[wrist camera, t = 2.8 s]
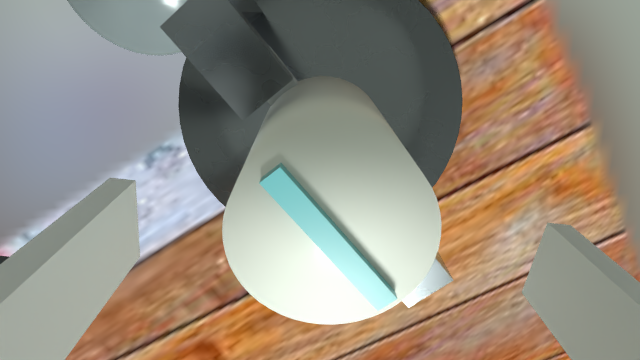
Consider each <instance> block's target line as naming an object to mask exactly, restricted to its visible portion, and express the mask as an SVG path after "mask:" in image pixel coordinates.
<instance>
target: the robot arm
mask: <svg viewBox="0 0 640 360" xmlns="http://www.w3.org/2000/svg"><path fill="white" fill-rule="evenodd" d="M139 257H140V249H139V232H138V215H137V198H136V182H135V180H126V179H116V178H109V179H108V180H107V181H105V182H104V183H103V184H102V185H100V186H99V187H98V188H97V189H95V190H94V191H93V192H91V193H90V194H89V195H88V196H86V197H85V198H84V199H83V200H81V201H80V202H79V203H78V204H76V205H75V206H74V207H72V208H71V209H70V210H69V211H67V212H66V213H65V214H64V215H62V216H61V217H60V218H58V219H57V220H56V221H55V222H53V223H52V224H51V225H50V226H48V227H47V228H46V229H44V230H43V231H42V232H41V233H39V234H38V235H37V236H36V237H34V238H33V239H32V240H31V241H29V242H28V243H27V244H25V245H24V246H23V247H22V248H20V249H19V250H18V251H17V252H15V253H14V254H13V255H11V256H10V257H7V256H0V360H65V359H66V357H67V356H68V354H69V353H70V352H71V350H72V349H73V348H74V346H75V345H76V343H77V342H78V341H79V339H80V338H81V337H82V335H83V334H84V333H85V331H86V330H87V328H88V327H89V326H90V324H91V323H92V322H93V320H94V319H95V318H96V316H97V315H98V313H99V312H100V311H101V309H102V308H103V307H104V305H105V304H106V302H107V301H108V300H109V298H110V297H111V296H112V294H113V293H114V292H115V290H116V289H117V287H118V286H119V285H120V283H121V282H122V281H123V279H124V278H125V276H126V275H127V274H128V272H129V271H130V270H131V268H132V267H133V266H134V264H135V263H136V261H137V260H138V259H139ZM522 293H523V295H524V296H525V297H526V299H527V300H528V301H529V303H530V304H531V306H532V307H533V308H534V310H535V311H536V312H537V314H538V315H539V316H540V318H541V319H542V320H543V322H544V323H545V324H546V326H547V327H548V329H549V330H550V331H551V333H552V334H553V335H554V337H555V338H556V339H557V341H558V342H559V343H560V345H561V346H562V347H563V349H564V350H565V351H566V353H567V354H568V356H569V357H570V358H571V360H640V283H639V282H638V281H637V280H636V279H635V278H633V277H632V276H631V275H630V274H629V273H627V272H626V271H625V270H624V269H623V268H621V267H620V266H619V265H618V264H617V263H615V262H614V261H613V260H612V259H611V258H609V257H608V256H607V255H606V254H604V253H603V252H602V251H601V250H600V249H598V248H597V247H596V246H595V245H594V244H592V243H591V242H590V241H589V240H588V239H586V238H585V237H584V236H583V235H582V234H580V233H579V232H578V231H577V230H575V229H574V228H573V227H572V226H571V225H564V224H554V223H547V226H546V228H545V231H544V234H543V236H542V239H541V242H540V244H539V247H538V250H537V253H536V255H535V258H534V261H533V263H532V266H531V269H530V271H529V274H528V277H527V280H526V282H525V285H524V288H523V290H522Z"/></svg>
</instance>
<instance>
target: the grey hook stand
mask: <svg viewBox="0 0 640 360" xmlns="http://www.w3.org/2000/svg"><path fill="white" fill-rule="evenodd" d="M160 28H161V29H162V30H163V31H164V32H165V33H166V35H167V36H168V37H169V38H170V39H171V40H172V41H173V42H174V44H175V45H176V46H177V47H178V48H179V49H180V50H181V51H182V53H183V54H184V55H185V56H186V57H187V58H186V61H185V64H184V66H183V71H182V76H181V82H180V88H179V116H180V125H181V130H182V134H183V139H184V143H185V145H186V148H187V151H188V154H189V156H190V159H191V161H192V163H193V165H194V167H195V169H196V171H197V173H198V174H199V176H200V177H201V179H202V180H203V182H204V183H205V185H206V186H207V188H208V189H209V190H210V191H211V192H212V193H213V194H214V196H215V197H216V198H217V199H218V200H219V201H220V202H221V203H222V204H223V205H224V206H225V207H226V205H227V202H228V199H229V197H230V195H231V192H232V190H233V188H234V186H235V183H236V181H237V179H238V177H239V174H240V172H241V170H242V168H243V166H244V163H245V161H246V159H247V157H248V154H249V152H250V150H251V148H252V145H253V143H254V141H255V139H256V137H257V134H258V132H259V130H260V128H261V125H262V123H263V121H264V119H265V116H266V114H267V112H268V110H269V108H270V106H271V105H270V104H269V103H268V102H267V101H268V100H269V99H270V98H271V97H272V96H274V95H275V94H276V93H277V92H278V91H280V90H281V89H282V88H283V87H284V86H286V85H287V84H288V83H289V82H291V81H292V79H293V76H294V77H295V78H296V80H297V81H300V80H303V79H306V78H310V77H317V76H331V77H336V78H340V79H343V80H346V81H348V82H350V83H352V84H354V85H356V86H357V87H359V88H360V89H361V90H363V91H364V92H365V93H366V94H367V95H368V96H369V98H370V99H371V100H372V101H373V103H374V104H375V106H376V107H377V108H378V110H379V111H380V113H381V114H382V116H383V117H384V118H385V120H386V121H387V123H388V124H389V126H390V127H391V128H392V130H393V131H394V133H395V134H396V136H397V137H398V138H399V140H400V141H401V143H402V144H403V146H404V147H405V148H406V150H407V151H408V153H409V154H410V156H411V157H412V158H413V160H414V161H415V163H416V164H417V166H418V167H419V168H420V170H421V171H422V173H423V174H424V176H425V177H426V179H427V180H428V182H429V184H430V185H431V187H433V186H434V185H435V184H436V182H437V181H438V179H439V177H440V176H441V174H442V173H443V171H444V169H445V168H446V166H447V163H448V161H449V159H450V157H451V155H452V153H453V150H454V147H455V143H456V140H457V137H458V133H459V128H460V122H461V115H462V89H461V80H460V75H459V70H458V66H457V62H456V59H455V56H454V54H453V51H452V48H451V45H450V43H449V41H448V40H447V38H446V36H445V34H444V32H443V30H442V28H441V27H440V25H439V24H438V23H437V21H436V20H435V19H434V17H433V16H432V14H431V13H430V12H429V11H428V10H427V9H426V8H425V7H424V6H423V5H422V4H421V2H420V1H419V0H187V1H186V2H185V3H184V4H183V5H182V6H181V7H180V8H179V9H178V10H177V11H176V12H175V13H174V14H173V15H171V16H170V17H169V18H168V19H167V20H166V21H165V22H164V23H163V24H162V25H161V26H160ZM269 46H270V47H271V48H272V50H273V51H274V52H275V53H276V55H277V56H278V57H279V58H280V60H281V61H282V62H283V63H284V65H285V66H286V67H287V68H288V70H289V71H290V72H291V73H292V75H293V76H292V75H291V73H290V72H289V71H288V70H287V68H286V67H285V66H284V65H283V63H282V62H281V61H280V60H279V58H278V57H277V56H276V55H275V53H274V52H273V51H272V50H271V48H270V47H269ZM451 281H453V279H452V277H451V275H450V273H449V271H448V269H447V268H446V266H445V264H444V262H443V260H442V258H441V256H440V254H439V253H438V251H437V254H436V257H435V260H434V262H433V264H432V266H431V268H430V270H429V272H428V273H427V275H426V276H425V278H424V279H423V280H422V282H421V283H420V284H419V285H418V286H417V287H416V289H415V290H414V291H413V292H412V293H411V294H409V295H408V296H407V297H406V298H405V299H404V300H402V301H403V302H404V303H405V304H406V305H407V306H408V308H409V307H411V306H412V305H414V304H416V303H417V302H419V301H420V300H422V299H424V298H425V297H427V296H429V295H430V294H432V293H433V292H435V291H437V290H438V289H440V288H442V287H443V286H445V285H447V284H448V283H450V282H451Z"/></svg>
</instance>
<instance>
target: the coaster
mask: <svg viewBox="0 0 640 360" xmlns="http://www.w3.org/2000/svg"><path fill="white" fill-rule="evenodd" d="M67 1H68V2H69V4H70V5H71V6H72V8H73V9H74V11H75V12H76V13H77V14H78V15H79V16H80V17H81V19H82V20H83V21H84V22H85V23H86V24H87V25H88V26H90V27H91V28H92V29H93V30H94V31H95V32H97V33H98V34H99V35H101V36H102V37H103V38H105V39H107V40H108V41H110V42H112V43H113V44H115V45H117V46H120V47H122V48H124V49H127V50H130V51H133V52H136V53H141V54H147V55H171V54H176V53H180V52H182V51H181V50H180V49H179V48H178V47H177V46H176V45H175V44H174V42H173V41H172V40H171V39H170V38H169V37H168V36H167V35H166V33H165V32H164V31H163V30H162V29H161V28H160V26H161V25H162V24H163V23H164V22H165V21H166V20H167V19H168V18H169V17H170V16H171V15H173V14H174V13H175V12H176V11H177V10H178V9H179V8H180V7H181V6H182V5H183V4H184V3H185V2H186V1H187V0H67Z"/></svg>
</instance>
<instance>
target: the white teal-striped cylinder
mask: <svg viewBox="0 0 640 360" xmlns="http://www.w3.org/2000/svg"><path fill="white" fill-rule="evenodd" d="M269 47H270V46H269ZM270 48H271V47H270ZM271 50H272V48H271ZM272 51H273V50H272ZM273 52H274V51H273ZM274 53H275V52H274ZM275 55H276V53H275ZM276 56H277V55H276ZM277 57H278V56H277ZM278 58H279V57H278ZM279 60H280V58H279ZM280 61H281V60H280ZM281 62H282V61H281ZM282 63H283V62H282ZM283 65H284V63H283ZM284 66H285V65H284ZM285 67H286V66H285ZM286 68H287V67H286ZM287 70H288V68H287ZM288 71H289V70H288ZM289 72H290V71H289ZM290 73H291V72H290ZM291 75H292V73H291ZM292 76H293V75H292ZM267 102H268V103H269V104H270V105H271V106H270V108H269V110H268V112H267V114H266V116H265V119H264V121H263V123H262V125H261V128H260V130H259V132H258V134H257V137H256V139H255V141H254V143H253V145H252V148H251V150H250V152H249V154H248V157H247V159H246V161H245V163H244V166H243V168H242V170H241V172H240V174H239V177H238V179H237V181H236V183H235V186H234V188H233V190H232V192H231V195H230V197H229V199H228V202H227V205H226V209H225V212H224V217H223V227H222V232H223V244H224V249H225V253H226V256H227V259H228V262H229V265H230V267H231V269H232V270H233V272H234V274H235V276H236V277H237V279H238V280H239V282H240V283H241V284H242V286H243V287H244V288H245V289H246V290H247V291H248V292H249V293H250V294H251V295H252V296H253V297H254V298H255V299H257V300H258V301H259V302H260V303H262V304H263V305H265V306H266V307H268V308H269V309H271V310H273V311H275V312H277V313H279V314H281V315H284V316H286V317H289V318H292V319H295V320H299V321H303V322H308V323H315V324H344V323H350V322H356V321H360V320H364V319H367V318H370V317H373V316H375V315H378V314H380V313H383V312H384V311H386V310H388V309H390V308H392V307H394V306H395V305H397V304H398V303H399V302H401V301H402V300H404V299H405V298H406V297H407V296H408V295H409V294H411V293H412V292H413V291H414V290H415V289H416V287H417V286H418V285H419V284H420V283H421V282H422V280H423V279H424V278H425V276H426V275H427V273H428V272H429V270H430V268H431V266H432V264H433V262H434V260H435V257H436V254H437V251H438V248H439V243H440V238H441V216H440V209H439V206H438V202H437V198H436V196H435V194H434V191H433V189H432V187H431V185H430V184H429V182H428V180H427V179H426V177H425V176H424V174H423V173H422V171H421V170H420V168H419V167H418V166H417V164H416V163H415V161H414V160H413V158H412V157H411V156H410V154H409V153H408V151H407V150H406V148H405V147H404V146H403V144H402V143H401V141H400V140H399V138H398V137H397V136H396V134H395V133H394V131H393V130H392V128H391V127H390V126H389V124H388V123H387V121H386V120H385V118H384V117H383V116H382V114H381V113H380V111H379V110H378V108H377V107H376V106H375V104H374V103H373V101H372V100H371V99H370V98H369V96H368V95H367V94H366V93H365V92H364V91H363V90H361V89H360V88H359V87H357V86H356V85H354V84H352V83H350V82H348V81H346V80H343V79H340V78H336V77H331V76H317V77H310V78H306V79H303V80H300V81H297V80H296V78H295V77H294V76H293V79H292V81H291V82H289V83H288V84H287V85H286V86H284V87H283V88H282V89H281V90H280V91H278V92H277V93H276V94H275V95H274V96H272V97H271V98H270V99H269V100H268V101H267Z"/></svg>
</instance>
